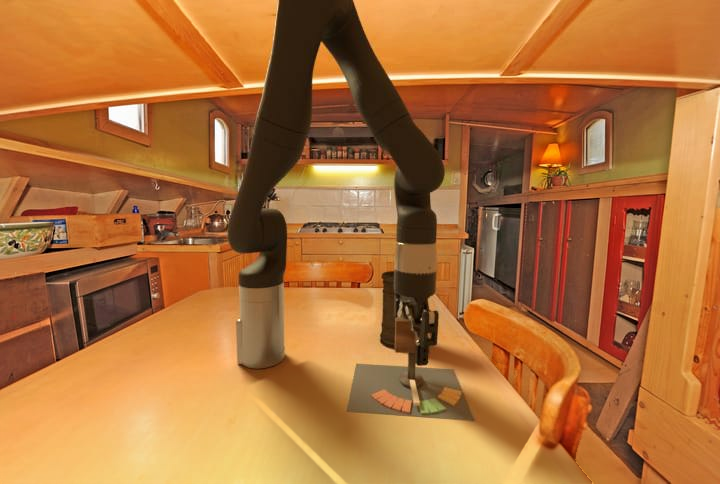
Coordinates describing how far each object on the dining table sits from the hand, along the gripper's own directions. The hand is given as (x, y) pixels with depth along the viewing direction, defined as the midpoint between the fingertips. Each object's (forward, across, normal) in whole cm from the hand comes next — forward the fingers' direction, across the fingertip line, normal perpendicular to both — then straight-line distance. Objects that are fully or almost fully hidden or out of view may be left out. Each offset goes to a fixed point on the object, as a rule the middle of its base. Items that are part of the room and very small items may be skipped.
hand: (412, 353), depth 56 cm
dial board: (+7, -2, +2) cm, 7 cm away
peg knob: (+5, -3, +1) cm, 6 cm away
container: (+7, +17, -4) cm, 19 cm away
